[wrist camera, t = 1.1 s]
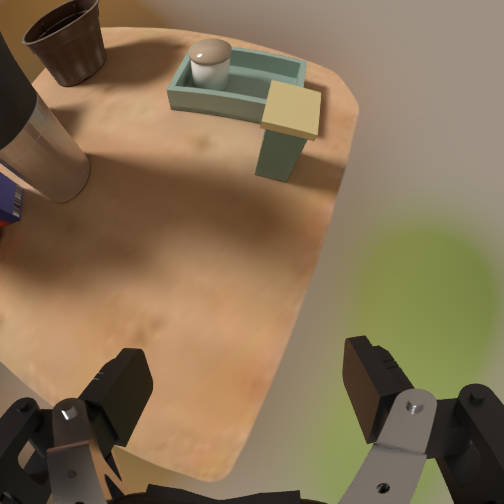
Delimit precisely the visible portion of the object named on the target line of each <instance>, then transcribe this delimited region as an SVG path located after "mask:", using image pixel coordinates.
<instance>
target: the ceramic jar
mask: <svg viewBox="0 0 504 504" xmlns="http://www.w3.org/2000/svg"><path fill="white" fill-rule="evenodd" d="M231 53H232V48H231V46H230V44H229V43H227V42H226V41H223V40H220V39H205V40H201V41H198V42H196V43H194V44H193V45H192V46H191V47H190V49H189V58H190V59H191V67H192V77H193V86H194V88H200V89H208V90H216V91H224V90H225V89H226V88H227V86H228V84H229V65H230V56H231Z"/></svg>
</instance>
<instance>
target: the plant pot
mask: <svg viewBox="0 0 504 504" xmlns="http://www.w3.org/2000/svg"><path fill="white" fill-rule="evenodd" d="M98 3H99V0H70V1H68V2H66V3H64V4H62V5H60V6H58V7H56V8H55V9H53V10H51V11H50V12H49V13H47V14H45V15H44V16H43V17H41V18H40V19H39V20H38V21H36V22H35V23H34V24H33V25H32V26H31V27H30V28H29V30H28V31H27V32H26V33H25V35H24V37H23V39H22V43H23V44H24V45H26V46H28V47H29V48H30V50H31V51H32V52H33V53H34V54H36V55H37V56H38V58H39V59H40V60H41V61H42V63H43V64H44V65H45V67H46V68H47V69H48V71H49V72H50V73H51V75H52V76H53V77H54V78H55V80H56V81H57V83H58V84H59V85H61V86H72V85H76V84H78V83H81V82H82V81H83V80H84V79H85V78H87V77H90V76H92V75H93V74H95V73H96V72H97V71H98V70H99V69H100V68H101V66H102V65H103V64H104V62H105V60H106V52H105V48H104V44H103V39H102V34H101V30H100V24H99V19H98V17H99V9H98Z"/></svg>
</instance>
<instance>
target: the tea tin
mask: <svg viewBox="0 0 504 504" xmlns="http://www.w3.org/2000/svg"><path fill="white" fill-rule="evenodd" d="M320 103H321V93H320V92H317V91H313V90H310V89H306V88H303V87H299V86H295V85H291V84H287V83H283V82H278V81H274V80H272V81H271V85H270V89H269V93H268V97H267V101H266V106H265V110H264V114H263V118H262V122H261V127H260V128H263V129H265V132H264V136H263V141H262V145H261V149H260V154H259V158H258V163H257V167H256V172H255V175H258V176H263V177H267V178H272V179H276V180H280V181H285V182H287V180H288V178H289V176H290V174H291V172H292V170H293V168H294V166H295V164H296V162H297V160H298V158H299V156H300V154H301V152H302V150H303V148H304V146H305V144H306V142H307V140H311V141H315V139H316V137H317V135H318V125H319V114H320Z"/></svg>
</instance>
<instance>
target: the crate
mask: <svg viewBox="0 0 504 504" xmlns="http://www.w3.org/2000/svg"><path fill="white" fill-rule="evenodd" d="M193 44H194V43H193ZM231 48H232V53H231V56H230V65H229V84H228V86H227V88H226V89H225V90H224V91H216V90H208V89H200V88H194V86H193V77H192V67H191V59H190V58H189V51H188V53H187V55H186V56H185V58H184V60H183V61H182V63H181V65H180V66H179V68H178V70H177V72H176V74H175V75H174V77H173V79H172V81H171V83H170V85H169V86H168V88H167V94H168V98H169V103H170V107H171V110H179V111H188V112H196V113H203V114H210V115H216V116H222V117H228V118H234V119H239V120H245V121H250V122H255V123H259V124H261V122H262V118H263V114H264V110H265V106H266V101H267V97H268V93H269V89H270V85H271V81H272V80H274V81H278V82H283V83H287V84H291V85H295V86H299V87H303V88H304V80H305V73H306V65H307V62H306V61H302V60H299V59H295V58H291V57H286V56H282V55H277V54H273V53H268V52H263V51H257V50H251V49H245V48H239V47H231Z"/></svg>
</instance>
